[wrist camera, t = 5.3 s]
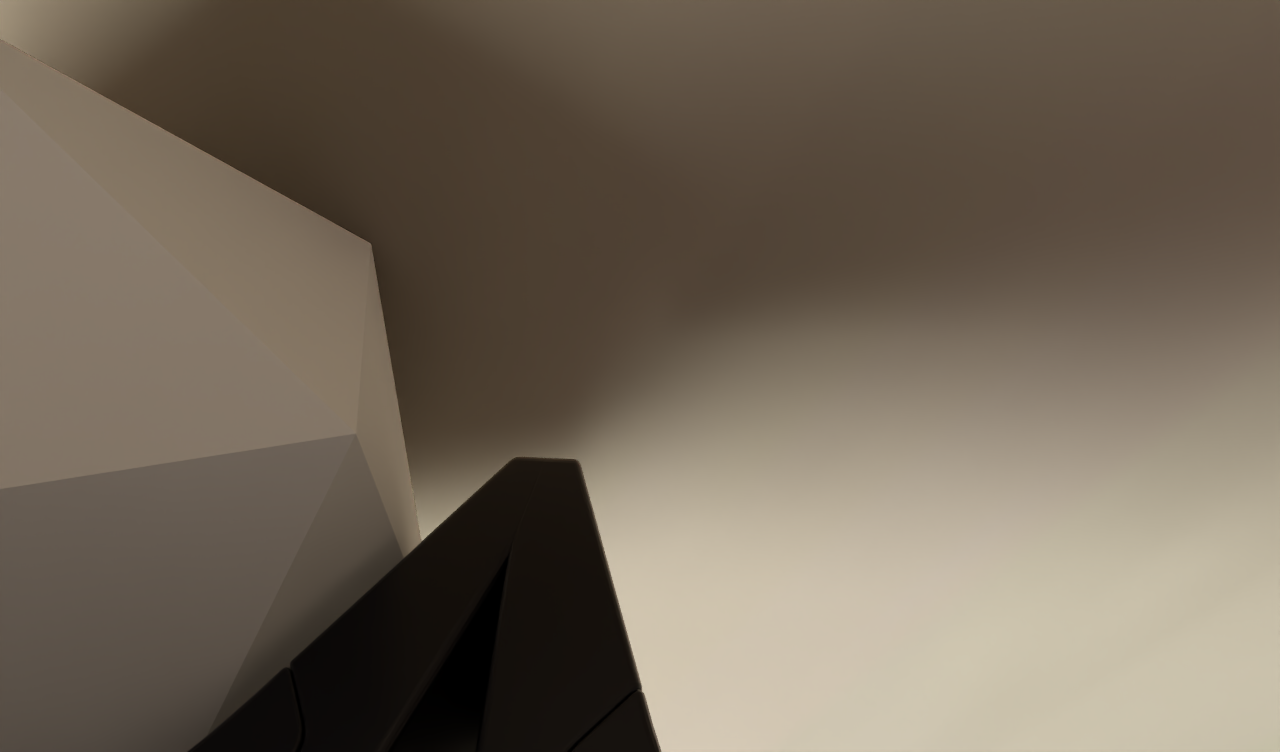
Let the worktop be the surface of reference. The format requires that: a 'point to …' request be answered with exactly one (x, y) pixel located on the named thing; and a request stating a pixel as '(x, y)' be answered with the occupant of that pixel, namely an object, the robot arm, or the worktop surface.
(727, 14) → the worktop surface
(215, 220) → the die
